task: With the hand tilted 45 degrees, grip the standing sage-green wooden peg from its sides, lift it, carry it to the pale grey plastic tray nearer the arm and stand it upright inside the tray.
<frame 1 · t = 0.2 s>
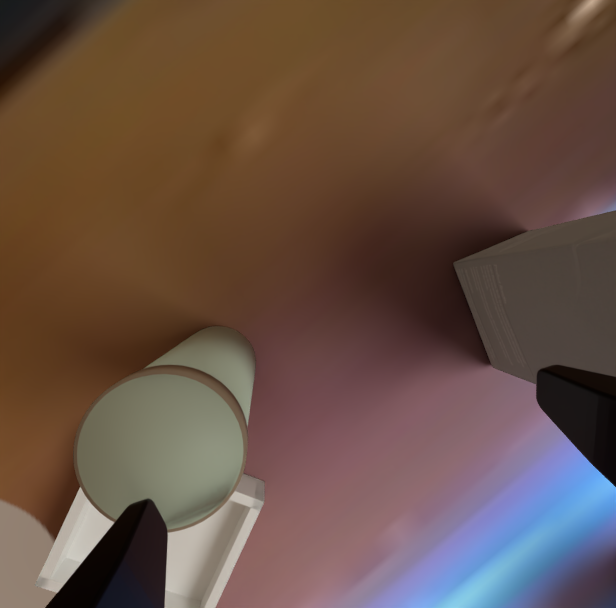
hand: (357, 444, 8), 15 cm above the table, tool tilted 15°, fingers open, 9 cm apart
skincare box: (502, 297, 25), on the table
peg: (218, 363, 22), on the table
tray: (164, 517, 23), on the table
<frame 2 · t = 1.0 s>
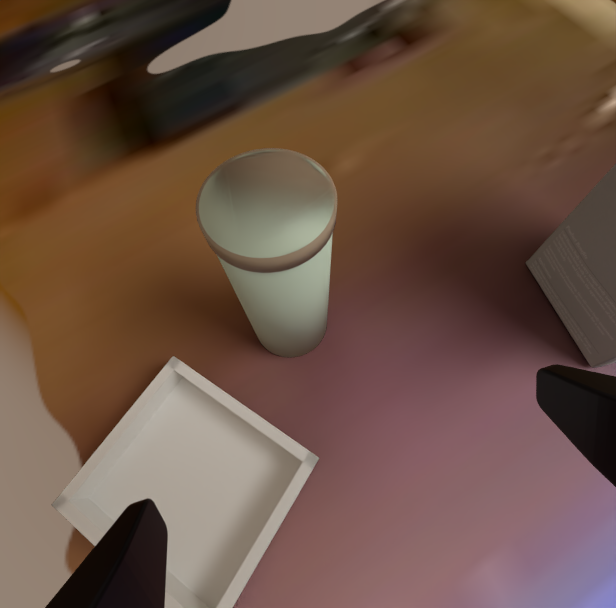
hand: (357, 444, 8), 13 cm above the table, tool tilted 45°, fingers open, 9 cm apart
skincare box: (586, 301, 24), on the table
peg: (290, 322, 23), on the table
tray: (200, 479, 20), on the table
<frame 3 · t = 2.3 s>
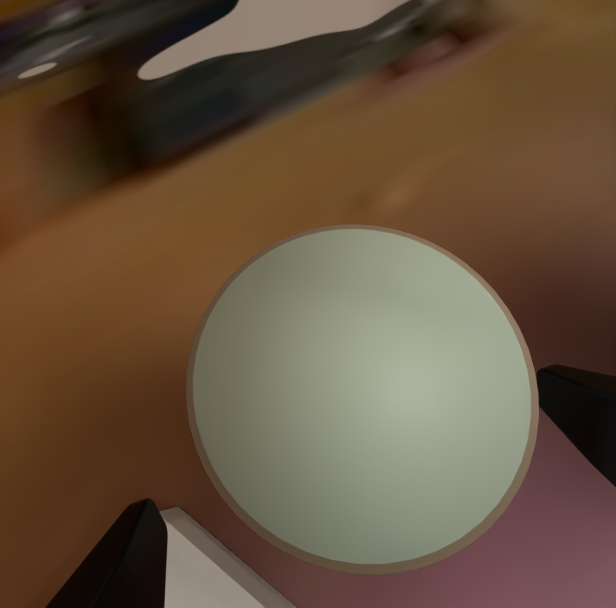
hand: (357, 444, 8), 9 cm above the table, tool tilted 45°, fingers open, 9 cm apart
peg: (332, 435, 16), on the table
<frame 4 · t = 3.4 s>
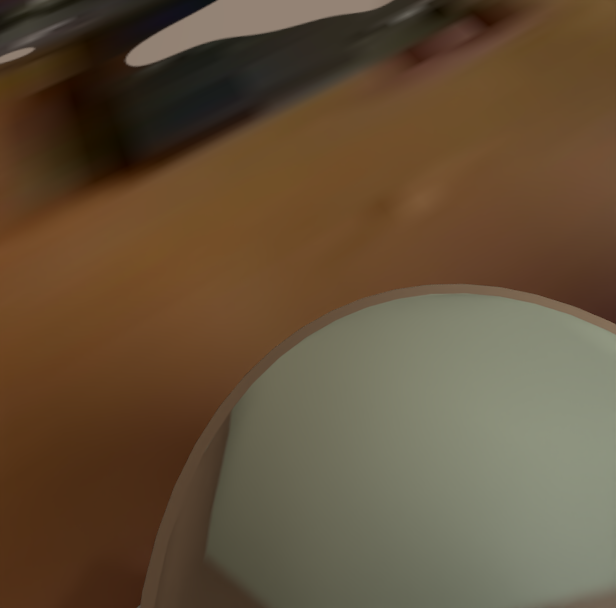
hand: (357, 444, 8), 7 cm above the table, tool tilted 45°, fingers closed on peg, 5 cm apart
peg: (353, 491, 13), on the table, touching gripper
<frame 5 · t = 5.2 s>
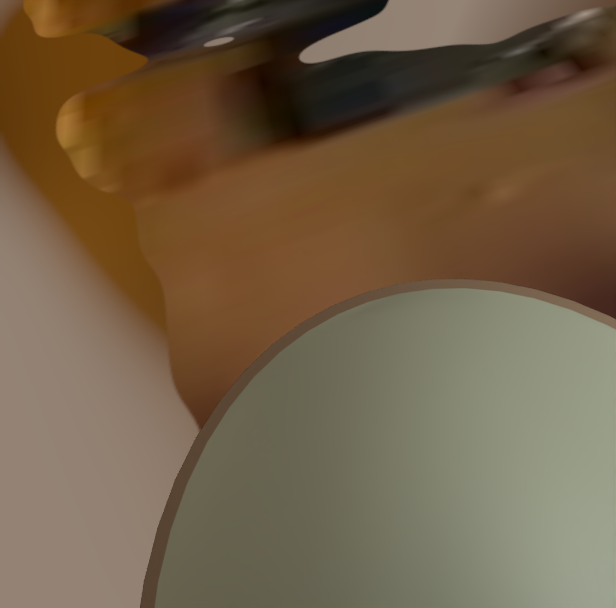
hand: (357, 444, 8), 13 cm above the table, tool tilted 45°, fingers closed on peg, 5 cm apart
peg: (353, 490, 13), point 7 cm above the table, touching gripper
when the fingers open (8 cm above the table, at t = 6.7 s): peg stays where it is, resting on tray.
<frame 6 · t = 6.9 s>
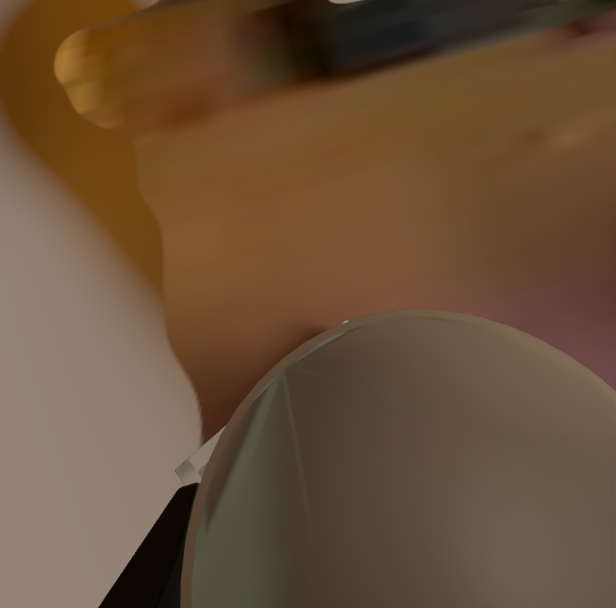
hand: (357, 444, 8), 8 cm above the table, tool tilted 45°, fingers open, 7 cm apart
peg: (351, 491, 14), point 1 cm above the table, touching tray
tray: (350, 488, 15), on the table
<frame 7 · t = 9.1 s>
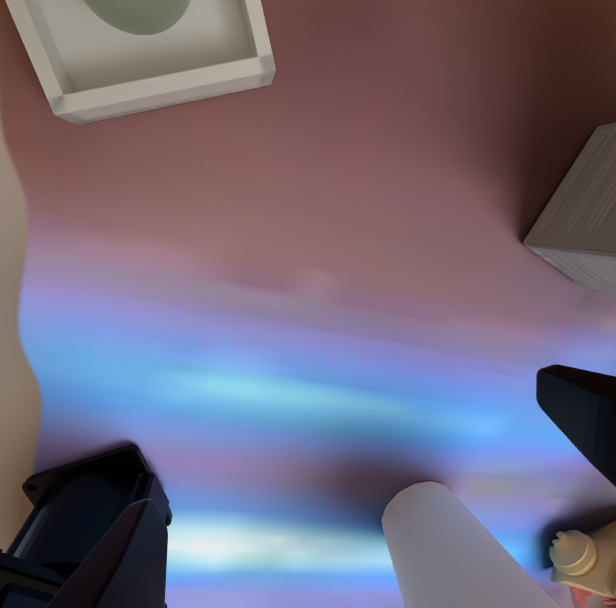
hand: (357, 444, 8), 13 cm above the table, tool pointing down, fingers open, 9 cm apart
skincare box: (581, 205, 22), on the table
foam cup: (417, 510, 28), on the table
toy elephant: (580, 535, 34), on the table
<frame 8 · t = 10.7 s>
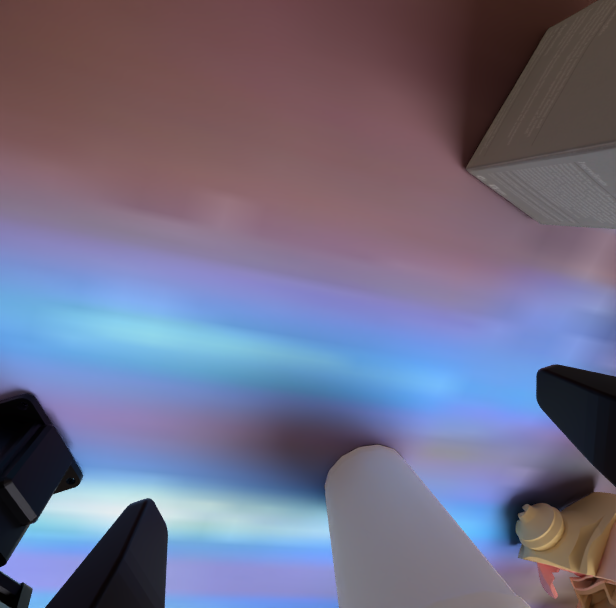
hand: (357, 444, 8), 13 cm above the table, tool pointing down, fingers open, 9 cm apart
skincare box: (535, 126, 20), on the table
foam cup: (365, 477, 26), on the table
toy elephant: (551, 510, 31), on the table
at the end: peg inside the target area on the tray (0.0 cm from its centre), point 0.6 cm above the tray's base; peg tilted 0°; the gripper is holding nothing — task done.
